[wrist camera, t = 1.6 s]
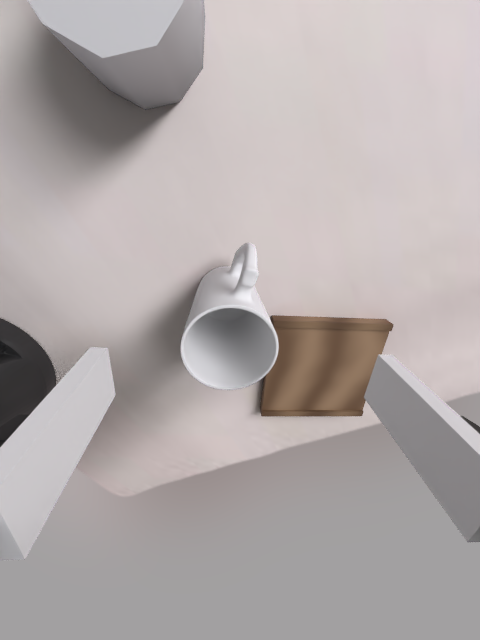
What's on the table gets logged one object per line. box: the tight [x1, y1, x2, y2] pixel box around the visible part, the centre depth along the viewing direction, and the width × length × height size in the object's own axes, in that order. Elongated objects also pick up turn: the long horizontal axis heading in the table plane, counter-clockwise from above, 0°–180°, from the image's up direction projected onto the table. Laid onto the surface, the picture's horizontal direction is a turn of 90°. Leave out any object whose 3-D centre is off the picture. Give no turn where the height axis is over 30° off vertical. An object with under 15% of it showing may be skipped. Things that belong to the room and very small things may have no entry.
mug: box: [180, 243, 279, 390], centre depth 23 cm, size 10×7×12 cm, turn 163°
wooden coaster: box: [260, 316, 393, 416], centre depth 33 cm, size 14×14×2 cm
